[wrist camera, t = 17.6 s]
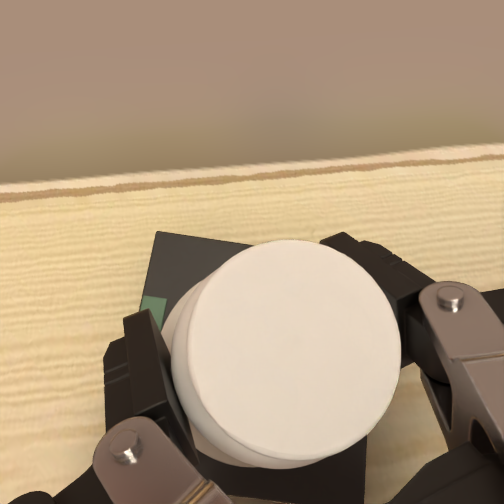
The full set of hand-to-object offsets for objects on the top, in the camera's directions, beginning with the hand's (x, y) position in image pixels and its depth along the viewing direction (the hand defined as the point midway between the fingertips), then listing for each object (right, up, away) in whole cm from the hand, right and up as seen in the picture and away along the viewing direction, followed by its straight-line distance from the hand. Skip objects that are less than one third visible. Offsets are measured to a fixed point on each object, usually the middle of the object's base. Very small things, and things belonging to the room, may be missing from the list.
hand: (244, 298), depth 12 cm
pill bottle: (0, -3, +4) cm, 5 cm away
